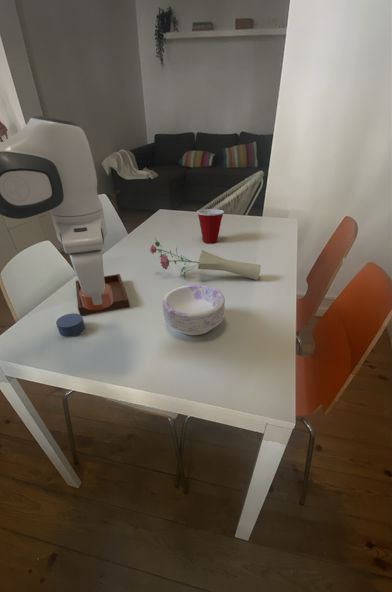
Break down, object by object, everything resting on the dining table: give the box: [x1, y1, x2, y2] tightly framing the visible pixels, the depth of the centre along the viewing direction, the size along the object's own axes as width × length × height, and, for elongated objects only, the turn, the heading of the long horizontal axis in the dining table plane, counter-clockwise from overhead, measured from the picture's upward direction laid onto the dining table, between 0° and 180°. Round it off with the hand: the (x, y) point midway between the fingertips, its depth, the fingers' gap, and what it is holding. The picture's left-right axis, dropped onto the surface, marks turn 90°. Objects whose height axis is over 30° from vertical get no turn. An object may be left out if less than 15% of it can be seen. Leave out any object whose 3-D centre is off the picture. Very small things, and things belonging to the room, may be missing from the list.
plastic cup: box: [196, 208, 225, 245], centre depth 127 cm, size 11×11×12 cm
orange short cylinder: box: [79, 283, 113, 310], centre depth 66 cm, size 6×6×3 cm
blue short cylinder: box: [55, 312, 86, 338], centre depth 80 cm, size 6×6×3 cm
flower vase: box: [149, 237, 262, 281], centre depth 102 cm, size 12×12×35 cm
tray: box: [75, 273, 131, 317], centre depth 94 cm, size 18×14×3 cm
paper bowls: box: [162, 284, 226, 336], centre depth 80 cm, size 15×15×8 cm
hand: (96, 294), depth 66 cm, fingers closed on orange short cylinder, 6 cm apart
